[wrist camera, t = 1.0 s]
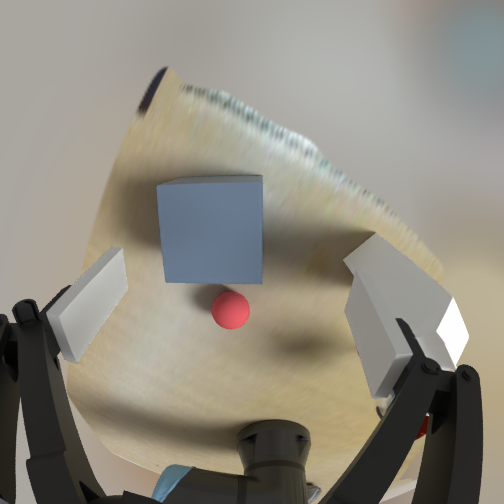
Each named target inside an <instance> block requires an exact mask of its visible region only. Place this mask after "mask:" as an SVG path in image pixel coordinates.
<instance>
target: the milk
mask: <svg viewBox="0 0 504 504" xmlns="http://www.w3.org/2000/svg"><path fill="white" fill-rule="evenodd" d="M343 261H344V262H345V264H346V265H347V267H348V268H349V270H350V271H351V272H352V274H353V275H355V272H356V270H361V271H369V273H370V275H371V276H372V278H373V280H374V282H375V283H376V285H377V287H378V289H379V290H380V292H381V294H382V296H383V297H384V299H385V301H386V303H387V305H388V307H389V308H390V310H391V312H392V314H393V316H394V318H402V319H403V320H404V321H405V322H406V323H407V324H408V325H409V326H410V328H411V330H412V333H413V334H414V335H415V337H416V338H415V339H417V341H418V343H419V345H420V346H421V348H422V350H423V352H424V354H425V356H426V357H428V358H431V359H433V360H435V361H436V362H437V363H438V364H439V365H440V367H441V369H442V370H445V371H447V370H450V369H453V370H454V371H455V370H456V369H457V367H456V363H457V361H458V359H459V357H460V355H461V353H462V351H463V349H464V347H465V345H466V343H467V341H468V338H469V335H468V332H467V330H466V327H465V324H464V322H463V319H462V317H461V314H460V312H459V309H458V307H457V305H456V302H455V300H454V298H453V296H452V295H451V294H450V293H449V292H447V291H446V290H445V289H444V288H443V287H442V286H441V285H440V284H439V283H437V282H436V281H435V280H434V279H433V278H432V277H431V276H429V275H428V274H427V273H426V272H425V271H424V270H422V269H421V268H420V267H419V266H418V265H416V264H415V263H414V262H413V261H412V260H410V259H409V258H408V257H407V256H406V255H404V254H403V253H402V252H401V251H399V250H398V249H397V248H396V247H394V246H393V245H392V244H391V243H389V242H388V241H387V240H386V239H384V238H383V237H382V236H381V235H379V234H378V233H375V234H373V235H372V236H371V237H370V238H369V239H367V240H366V241H365V242H364V243H362V244H361V245H360V246H359V247H358V248H356V249H355V250H354V251H353V252H351V253H350V254H349V255H348V256H346V257H345V258H344V259H343Z"/></svg>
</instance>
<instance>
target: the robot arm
mask: <svg viewBox="0 0 504 504" xmlns="http://www.w3.org/2000/svg"><path fill="white" fill-rule="evenodd" d="M127 290H128V284H127V277H126V270H125V262H124V254H123V248H118V247H111V248H110V249H109V250H108V251H107V252H106V253H104V254H103V255H102V256H101V257H100V258H99V259H98V260H97V261H96V262H95V263H94V264H93V265H92V266H91V267H90V268H89V269H88V270H87V271H86V272H85V273H84V274H83V275H82V276H81V277H80V278H79V279H78V280H77V281H76V282H75V283H74V284H73V285H69V286H67V287H65V288H63V289H62V290H61V291H60V292H59V293H58V294H57V295H56V296H55V297H54V298H53V299H52V301H50V302H49V303H48V304H47V305H46V306H45V307H44V308H43V310H42V311H41V312H40V313H39V310H38V307H37V304H36V301H34V300H32V299H25V300H22V301H20V302H18V303H17V304H15V306H14V307H13V309H12V312H13V315H14V317H15V320H16V322H17V323H9V321H8V318H7V316H6V315H4V314H0V504H15V499H16V475H15V457H16V434H17V421H18V411H19V403H20V396H21V404H22V411H23V418H24V425H25V430H26V435H27V441H28V446H29V450H30V456H31V457H30V459H27V460H26V467H27V472H28V475H29V479H30V482H31V486H32V490H33V493H34V496H35V499H36V502H37V504H308V495H307V485H306V475H305V464H306V461H307V457H308V454H309V450H310V447H311V439H310V433H309V431H308V430H307V429H306V428H305V427H304V426H302V425H300V424H297V423H294V422H290V421H283V420H270V421H263V422H258V423H255V424H252V425H250V426H248V427H246V428H244V429H243V430H242V431H241V432H240V433H239V435H238V440H237V449H238V452H239V455H240V458H241V461H242V464H243V467H244V475H237V474H229V473H222V472H216V471H210V470H204V469H199V468H196V467H193V466H192V467H188V466H182V465H177V464H173V465H170V466H168V467H167V468H166V469H165V470H164V471H163V472H162V474H161V476H160V478H159V479H158V481H157V484H156V486H155V489H154V491H153V494H152V497H151V498H149V497H145V496H141V495H138V494H134V493H131V492H128V491H124V492H123V495H113V496H106V494H105V493H104V491H103V489H102V488H101V486H100V485H99V483H98V482H97V480H96V478H95V476H94V474H93V471H92V469H91V467H90V464H89V462H88V459H87V456H86V454H85V451H84V448H83V446H82V443H81V440H80V437H79V434H78V431H77V428H76V425H75V422H74V419H73V416H72V412H71V409H70V405H69V401H68V397H67V394H66V390H65V385H64V381H63V377H62V372H61V368H60V363H59V359H58V357H57V355H58V354H59V352H60V351H61V353H62V355H63V357H64V359H65V360H67V361H70V362H73V363H76V364H77V363H78V361H79V360H80V358H81V357H82V355H83V354H84V352H85V351H86V349H87V347H88V346H89V344H90V343H91V341H92V340H93V338H94V337H95V335H96V334H97V332H98V331H99V330H100V328H101V327H102V325H103V324H104V322H105V321H106V319H107V318H108V316H109V315H110V314H111V312H112V311H113V309H114V308H115V307H116V305H117V304H118V302H119V301H120V300H121V298H122V297H123V295H124V294H125V293H126V291H127ZM345 314H346V316H347V319H348V322H349V325H350V328H351V331H352V334H353V337H354V340H355V344H356V347H357V350H358V353H359V356H360V359H361V363H362V366H363V369H364V372H365V376H366V379H367V382H368V386H369V389H370V393H371V396H372V399H379V398H388V396H389V395H390V393H391V391H392V390H393V391H394V394H395V397H394V399H393V400H392V402H391V403H390V405H389V406H388V408H387V409H386V412H385V414H384V415H383V417H382V419H381V420H380V422H379V424H378V425H377V427H376V428H375V430H374V431H373V433H372V434H371V436H370V437H369V439H368V440H367V442H366V443H365V445H364V446H363V448H362V449H361V450H360V452H359V453H358V455H357V456H356V457H355V459H354V460H353V461H352V463H351V464H350V465H349V467H348V468H347V469H346V471H345V472H344V473H343V474H342V476H341V477H340V478H339V479H338V481H337V482H336V483H335V484H334V485H333V487H332V488H331V489H330V490H329V491H328V493H327V494H326V495H325V496H324V497H323V498H322V499H321V501H320V502H319V503H318V504H378V503H379V502H380V500H381V499H382V497H383V496H384V494H385V493H386V491H387V490H388V488H389V486H390V485H391V483H392V481H393V480H394V478H395V476H396V475H397V473H398V471H399V469H400V468H401V466H402V464H403V462H404V460H405V458H406V456H407V455H408V453H409V451H410V449H411V447H412V445H413V443H414V441H415V439H416V436H417V434H418V432H419V430H420V428H421V426H422V423H423V421H424V419H425V416H426V414H427V413H429V417H428V425H427V432H426V439H425V445H424V451H423V457H422V462H421V467H420V472H419V476H418V480H417V484H416V488H415V492H414V496H413V500H412V503H411V504H478V502H479V495H480V486H481V476H482V461H483V416H482V399H481V387H480V378H479V375H478V373H477V371H476V370H475V369H474V368H473V367H471V366H469V365H464V364H463V365H460V366H458V368H457V369H456V370H455V372H450V371H445V370H442V369H441V367H440V365H439V364H438V363H437V362H436V361H435V360H433V359H431V358H428V357H426V356H425V354H424V352H423V350H422V348H421V346H420V345H419V343H418V341H417V339H415V338H416V337H415V335H414V334H413V333H412V330H411V328H410V326H409V325H408V324H407V323H406V322H405V321H404V320H403V319H402V318H394V316H393V314H392V312H391V310H390V308H389V307H388V305H387V303H386V301H385V299H384V297H383V296H382V294H381V292H380V290H379V289H378V287H377V285H376V283H375V282H374V280H373V278H372V276H371V275H370V273H369V271H361V270H356V272H355V275H354V279H353V283H352V287H351V290H350V294H349V297H348V301H347V304H346V307H345Z"/></svg>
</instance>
